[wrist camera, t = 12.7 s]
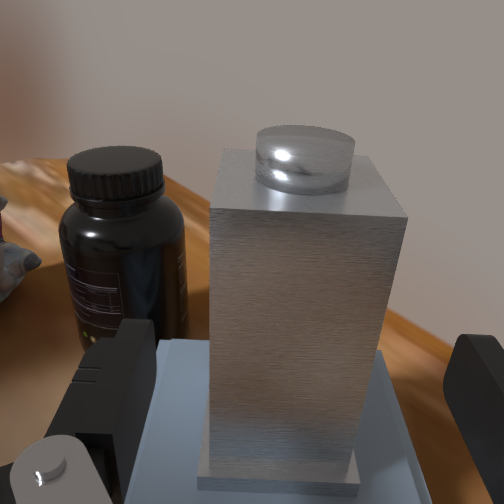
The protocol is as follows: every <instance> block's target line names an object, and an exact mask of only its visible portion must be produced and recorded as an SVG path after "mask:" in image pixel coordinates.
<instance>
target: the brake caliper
mask: <svg viewBox="0 0 504 504" xmlns="http://www.w3.org/2000/svg"><path fill="white" fill-rule="evenodd" d="M7 203H8V200H7V199H6V198H4V197H2V196H0V212H1V211H2V210H3V209H4V208H5V206H6V205H7ZM41 262H42V260H41V259H40V258H39V257H38V256H37V255H36V254H35V253H34V252H32V251H30V250H27V249H25V248H21V247H19V246H18V245H16V244H13V243H8V242H5V241H4V239H3V236H2V222H1V213H0V303H1V302H2V301H3V300H5V299H6V298H7V297H8V296H9V295H10V293H11V292H12V291H13V289H15V288H16V287H17V286H18V285H19V284H20V283H21V282H22V280H23V278H24V276H25V275H26V274H27V273H28V272H29V271H30V270H32V269H35V268H37V267H38V266H40V264H41Z"/></svg>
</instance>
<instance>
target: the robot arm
mask: <svg viewBox="0 0 504 504" xmlns="http://www.w3.org/2000/svg"><path fill="white" fill-rule="evenodd" d="M156 375H157V359H156V345H155V332H154V323H153V320H149V319H126V318H124V319H123V320H122V321H121V324H120V326H119V328H118V331H117V333H116V335H115V338H105V337H101V338H100V339H99V340H97V341H96V342H95V343H94V344H93V345H92V346H91V347H90V348H89V349H88V350H86V352H85V354H84V356H83V358H82V360H81V362H80V364H79V366H78V370H77V371H76V373H75V375H74V377H73V379H72V383H70V385H69V387H68V389H67V391H66V393H65V395H64V397H63V399H62V402H61V404H60V406H59V408H58V410H57V412H56V414H55V416H54V418H53V420H52V422H51V424H50V426H49V428H48V430H47V433H46V434H45V436H44V438H43V439H40V440H38V441H36V442H35V443H33V444H31V445H30V446H28V447H27V448H26V449H25V450H24V451H23V452H22V453H21V454H20V455H19V456H18V457H17V459H16V460H15V462H13V463H10V464H8V465H5V466H2V467H0V504H124V502H125V498H126V494H127V491H128V487H129V483H130V479H131V475H132V472H133V468H134V464H135V460H136V456H137V453H138V449H139V445H140V441H141V437H142V434H143V430H144V426H145V422H146V419H147V415H148V411H149V407H150V403H151V400H152V396H153V392H154V388H155V383H156ZM443 391H444V396H445V400H446V402H447V404H448V407H449V409H450V411H451V413H452V415H453V417H454V419H455V422H456V424H457V426H458V428H459V430H460V432H461V435H462V437H463V439H464V441H465V443H466V445H467V447H468V450H469V452H470V454H471V456H472V458H473V460H474V463H475V465H476V467H477V469H478V471H479V473H480V475H481V478H482V480H483V482H484V484H485V486H486V488H487V491H488V493H489V495H490V497H491V499H492V501H493V503H494V504H504V349H503V348H502V347H501V345H500V344H499V342H498V341H497V339H496V338H495V337H494V336H492V335H475V334H461V335H460V336H459V337H458V338H457V341H456V343H455V346H454V349H453V352H452V355H451V358H450V361H449V364H448V367H447V370H446V373H445V376H444V380H443Z"/></svg>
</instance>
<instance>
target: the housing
mask: <svg viewBox="0 0 504 504" xmlns="http://www.w3.org/2000/svg"><path fill="white" fill-rule="evenodd" d="M354 147H355V141H354V139H353V138H352V137H350V136H348V135H346V134H344V133H341V132H338V131H335V130H331V129H326V128H321V127H314V126H302V125H284V126H274V127H269V128H265V129H263V130H261V131H259V132H258V133H257V139H256V150H241V149H223V153H222V158H221V162H220V166H219V170H218V175H217V179H216V183H215V188H214V192H213V195H212V200H211V204H210V294H209V388H208V395H207V403H206V411H205V418H204V426H203V433H202V441H201V449H200V456H199V464H198V471H197V490H202V491H224V492H247V493H270V494H292V495H315V496H337V497H357V495H358V491H359V487H360V479H359V474H358V469H357V464H356V459H355V454H354V449H353V447H354V443H355V439H356V435H357V430H358V426H359V422H360V418H361V414H362V409H363V405H364V401H365V397H366V393H367V388H368V384H369V380H370V376H371V372H372V367H373V363H374V359H375V355H376V351H377V346H378V342H379V338H380V334H381V330H382V326H383V321H384V317H385V313H386V309H387V304H388V300H389V296H390V292H391V288H392V284H393V279H394V275H395V271H396V267H397V263H398V258H399V254H400V250H401V246H402V241H403V237H404V233H405V229H406V225H407V221H408V217H407V215H406V213H405V212H404V211H403V209H402V207H401V206H400V204H399V203H398V201H397V200H396V198H395V197H394V195H393V194H392V192H391V191H390V189H389V188H388V186H387V185H386V183H385V182H384V180H383V179H382V177H381V176H380V174H379V173H378V171H377V169H376V168H375V166H374V165H373V163H372V162H371V160H370V159H369V157H368V156H358V155H353V153H354Z"/></svg>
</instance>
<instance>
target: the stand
mask: <svg viewBox="0 0 504 504" xmlns="http://www.w3.org/2000/svg"><path fill="white" fill-rule="evenodd" d="M156 359H157V375H156V383H155V388H154V392H153V396H152V400H151V403H150V407H149V411H148V415H147V419H146V422H145V426H144V430H143V434H142V437H141V441H140V445H139V449H138V453H137V456H136V460H135V464H134V468H133V472H132V475H131V479H130V483H129V487H128V491H127V494H126V498H125V502H124V504H433V503H432V500H431V497H430V494H429V491H428V488H427V485H426V483H425V480H424V477H423V474H422V471H421V468H420V465H419V462H418V459H417V456H416V453H415V450H414V447H413V444H412V441H411V438H410V435H409V432H408V429H407V426H406V423H405V420H404V417H403V414H402V411H401V408H400V405H399V402H398V400H397V397H396V394H395V391H394V388H393V385H392V382H391V379H390V376H389V373H388V370H387V367H386V364H385V361H384V358H383V355H382V352H381V350H377V351H376V355H375V359H374V363H373V367H372V372H371V376H370V380H369V384H368V388H367V393H366V397H365V401H364V405H363V409H362V414H361V418H360V422H359V426H358V430H357V435H356V439H355V443H354V447H353V449H354V454H355V459H356V464H357V469H358V474H359V479H360V487H359V491H358V495H357V497H337V496H315V495H292V494H270V493H247V492H224V491H202V490H197V471H198V464H199V456H200V449H201V441H202V433H203V426H204V418H205V411H206V403H207V395H208V388H209V340H188V339H171V340H160V341H159V344H158V348H157V351H156Z"/></svg>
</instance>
